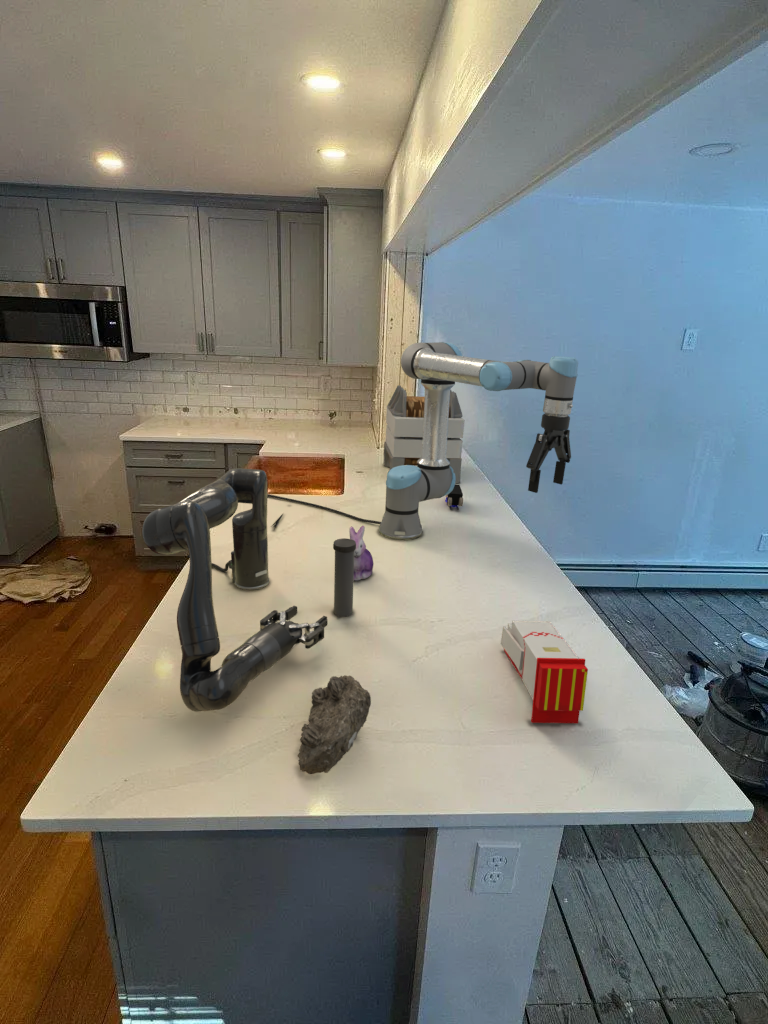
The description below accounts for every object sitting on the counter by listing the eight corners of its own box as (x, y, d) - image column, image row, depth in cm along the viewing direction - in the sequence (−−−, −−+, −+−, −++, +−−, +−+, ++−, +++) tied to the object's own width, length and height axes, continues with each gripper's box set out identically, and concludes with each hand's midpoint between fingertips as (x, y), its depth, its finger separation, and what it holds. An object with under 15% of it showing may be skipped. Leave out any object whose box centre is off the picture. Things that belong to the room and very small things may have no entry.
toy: (547, 606, 135) (596, 665, 106) (541, 658, 138) (589, 729, 108) (496, 604, 134) (532, 664, 105) (492, 657, 137) (526, 729, 108)
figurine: (351, 584, 162) (352, 535, 157) (337, 569, 170) (338, 523, 165) (380, 578, 166) (383, 531, 161) (365, 564, 174) (367, 519, 169)
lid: (332, 552, 138) (332, 546, 138) (334, 543, 144) (334, 537, 143) (355, 553, 138) (355, 547, 138) (356, 544, 144) (356, 538, 143)
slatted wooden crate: (382, 463, 289) (386, 382, 275) (445, 464, 293) (451, 384, 279) (390, 482, 257) (394, 392, 243) (460, 483, 261) (468, 394, 247)
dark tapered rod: (290, 508, 223) (292, 504, 223) (272, 532, 197) (275, 527, 196) (286, 505, 223) (289, 501, 223) (268, 529, 197) (271, 525, 196)
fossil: (305, 676, 114) (363, 644, 109) (335, 707, 117) (393, 676, 112) (276, 768, 94) (345, 733, 89) (313, 802, 97) (382, 770, 92)
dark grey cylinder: (333, 616, 145) (334, 547, 138) (334, 607, 149) (335, 540, 143) (351, 617, 145) (353, 548, 138) (353, 608, 149) (354, 540, 143)
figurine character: (463, 515, 225) (458, 499, 238) (465, 497, 221) (460, 482, 235) (446, 514, 224) (442, 498, 238) (448, 497, 221) (444, 482, 235)
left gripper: (292, 643, 115) (336, 608, 129) (239, 623, 121) (286, 592, 135) (293, 673, 118) (336, 637, 131) (240, 652, 124) (286, 619, 138)
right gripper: (544, 421, 147) (533, 498, 154) (590, 412, 163) (578, 483, 170) (519, 416, 152) (510, 491, 159) (567, 408, 168) (556, 477, 175)
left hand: (310, 614), depth 133 cm, fingers open, 8 cm apart
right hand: (545, 487), depth 165 cm, fingers open, 13 cm apart
